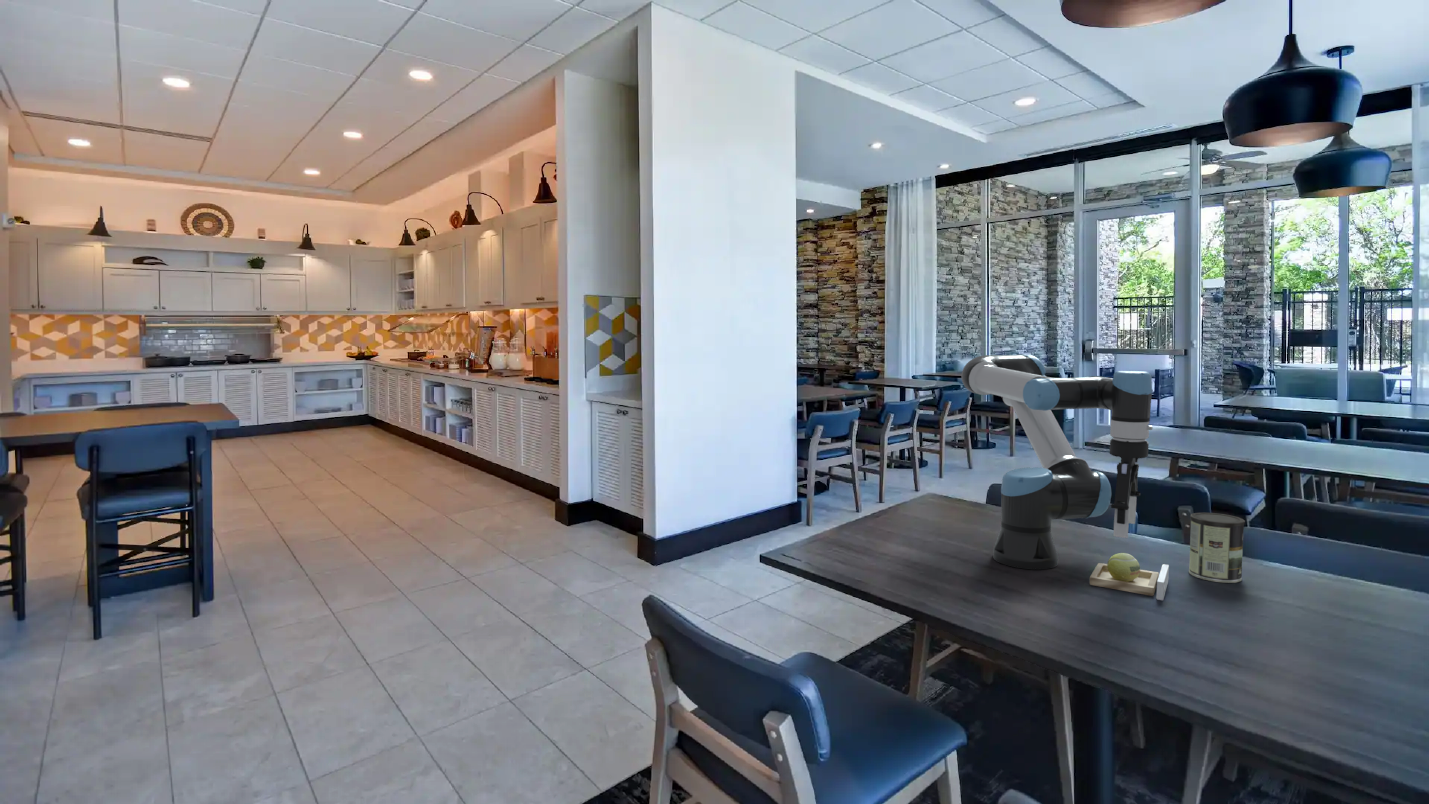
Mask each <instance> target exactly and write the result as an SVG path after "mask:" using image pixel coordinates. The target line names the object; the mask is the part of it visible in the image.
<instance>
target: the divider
mask: <svg viewBox="0 0 1429 804" xmlns="http://www.w3.org/2000/svg"><path fill="white" fill-rule="evenodd" d="M1169 573H1170V565H1169V564H1165V563H1164V564H1163V563H1162V565H1161V569H1160V571H1159V577H1158V580H1157V586H1156V597H1155V598H1156V600H1158V601H1164V598H1165V594H1166V591H1167V587H1168V584H1169V576H1170V575H1169Z"/></svg>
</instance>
